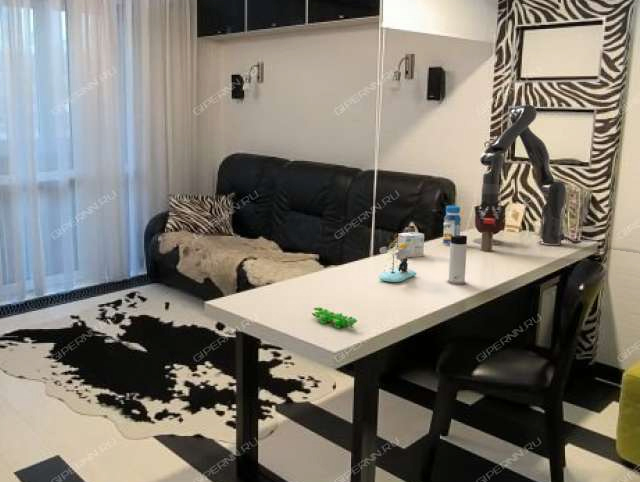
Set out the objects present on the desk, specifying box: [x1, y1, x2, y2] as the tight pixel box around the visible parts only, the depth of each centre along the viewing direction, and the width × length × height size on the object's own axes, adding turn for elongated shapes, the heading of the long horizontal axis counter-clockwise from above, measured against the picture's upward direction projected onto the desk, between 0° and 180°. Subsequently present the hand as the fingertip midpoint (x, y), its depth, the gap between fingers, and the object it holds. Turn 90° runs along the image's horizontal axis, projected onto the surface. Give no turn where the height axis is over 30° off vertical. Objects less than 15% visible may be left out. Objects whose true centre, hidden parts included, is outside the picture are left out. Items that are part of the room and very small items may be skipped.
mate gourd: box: [474, 207, 504, 246], centre depth 317 cm, size 16×14×20 cm
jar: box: [480, 231, 494, 252], centre depth 301 cm, size 5×5×9 cm
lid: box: [483, 218, 495, 224], centre depth 299 cm, size 6×6×2 cm
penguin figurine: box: [378, 243, 417, 283], centre depth 253 cm, size 20×11×15 cm, turn 133°
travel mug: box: [448, 234, 468, 286], centre depth 246 cm, size 6×7×20 cm
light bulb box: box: [397, 231, 425, 258], centre depth 291 cm, size 11×7×11 cm, turn 108°
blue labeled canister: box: [442, 205, 462, 247], centre depth 313 cm, size 8×8×20 cm
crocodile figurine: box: [311, 306, 358, 329], centre depth 202 cm, size 7×18×4 cm, turn 44°
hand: (488, 225), depth 299 cm, fingers closed on lid, 5 cm apart
